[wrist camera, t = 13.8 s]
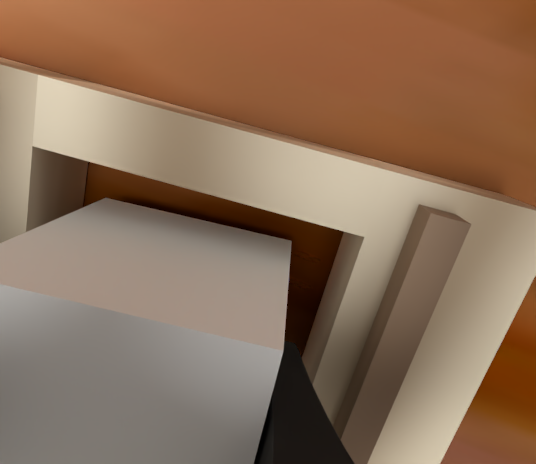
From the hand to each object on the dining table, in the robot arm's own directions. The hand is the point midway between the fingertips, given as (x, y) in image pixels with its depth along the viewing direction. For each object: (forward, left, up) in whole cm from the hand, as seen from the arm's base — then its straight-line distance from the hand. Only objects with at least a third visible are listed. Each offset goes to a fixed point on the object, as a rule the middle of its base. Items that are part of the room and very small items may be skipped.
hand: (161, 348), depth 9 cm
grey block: (0, 0, -2) cm, 2 cm away
